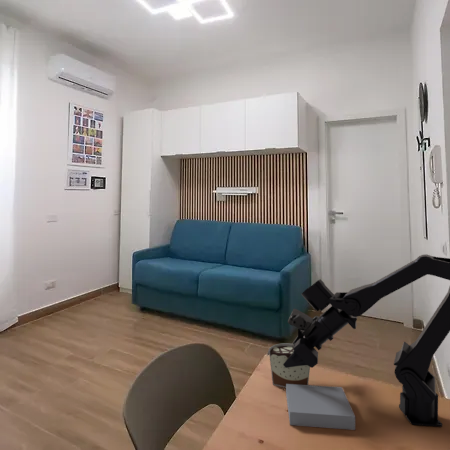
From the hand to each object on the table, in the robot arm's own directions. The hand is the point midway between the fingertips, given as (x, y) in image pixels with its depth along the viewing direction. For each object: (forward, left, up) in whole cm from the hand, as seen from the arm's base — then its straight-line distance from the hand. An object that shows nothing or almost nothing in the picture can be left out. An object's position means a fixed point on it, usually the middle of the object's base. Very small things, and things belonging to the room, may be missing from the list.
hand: (286, 358), depth 83 cm
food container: (-1, 0, -7) cm, 7 cm away
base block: (-6, +12, -7) cm, 15 cm away
